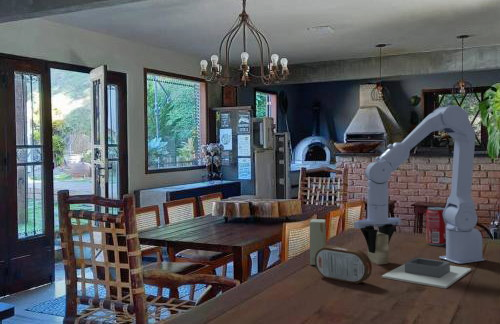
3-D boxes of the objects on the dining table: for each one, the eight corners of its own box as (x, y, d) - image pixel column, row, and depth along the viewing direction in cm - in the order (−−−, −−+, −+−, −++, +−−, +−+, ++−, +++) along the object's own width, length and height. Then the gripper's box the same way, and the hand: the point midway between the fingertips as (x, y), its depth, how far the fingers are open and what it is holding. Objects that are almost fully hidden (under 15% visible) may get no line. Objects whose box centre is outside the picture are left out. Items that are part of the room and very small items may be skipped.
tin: (372, 284, 124) (372, 249, 123) (366, 287, 121) (366, 252, 121) (319, 274, 133) (319, 242, 133) (313, 277, 131) (312, 244, 131)
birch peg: (378, 259, 148) (377, 232, 148) (388, 263, 144) (388, 235, 143) (367, 260, 147) (367, 233, 147) (377, 264, 142) (377, 236, 142)
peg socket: (412, 261, 145) (412, 251, 144) (471, 270, 134) (471, 259, 134) (381, 277, 129) (381, 265, 129) (445, 288, 119) (445, 275, 119)
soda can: (424, 244, 166) (424, 208, 166) (428, 241, 172) (428, 206, 171) (444, 246, 163) (444, 209, 163) (448, 243, 169) (448, 207, 168)
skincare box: (325, 266, 142) (324, 222, 141) (309, 265, 143) (309, 222, 142) (326, 260, 148) (326, 218, 147) (311, 260, 149) (311, 218, 148)
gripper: (390, 201, 151) (390, 246, 152) (348, 204, 146) (348, 251, 146) (405, 203, 144) (405, 251, 145) (361, 207, 139) (362, 256, 140)
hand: (377, 251), depth 145 cm, fingers closed on birch peg, 3 cm apart
